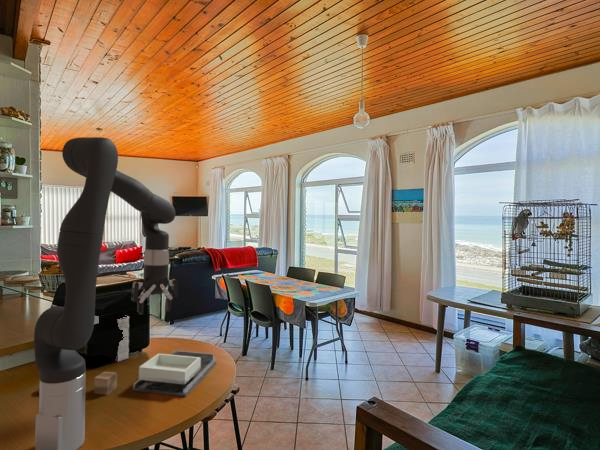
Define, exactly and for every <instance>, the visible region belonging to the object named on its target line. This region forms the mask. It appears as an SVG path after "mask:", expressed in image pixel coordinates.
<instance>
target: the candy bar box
mask: <svg viewBox="0 0 600 450" xmlns="http://www.w3.org/2000/svg"><path fill="white" fill-rule="evenodd" d="M126 316H127V317H123V318H120V319H117V323H118V327H119V329H120V330H123V332H122V334H123V337H124V338H123V337H122V338H123V340H121V341H120V342H119V346H118V350H117V356H116V359H115V361H114V362H116V361H117V362H116V363H118V362H119V361H120V362H123V361H124V360H129V358H130V356H129V355H130V353H129V352H130V316H128V315H126Z"/></svg>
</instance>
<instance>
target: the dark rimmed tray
mask: <svg viewBox="0 0 600 450" xmlns="http://www.w3.org/2000/svg"><path fill="white" fill-rule="evenodd" d="M171 351H172V352H171V355H180V356H190V357H201V367H200V370H199V371H198V372H197V373H196V374H195V375H194V376H193V377H192V378H191V379H190V380H189V381H188V382H187V383H186V384H183V386H178V385H177V384H176V383H166V382H157V381H151V382H150V383H147V382H146V381H145V380H139V379H137V381H135V382H134V383H133V384H132V388H131V389H132V391H134V392H141V393H150V394H159V395H169V396H177V397H188V395H189V394H190V393H191V392H192V391H193V390H194V388H195V387H197V386H198V384H200V383H201V381H202V380H203V379H204V378H205V377H206V376H207V375H208V374H209V372H210V371H212V369H214V367H216V365H217V361H216V360H217V359H216V358H215V353H212V352H210V353H209V352H200V351H190V350H189V351H188V350H180V349H179V350H178V349H173V350H171Z"/></svg>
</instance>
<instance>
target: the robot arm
mask: <svg viewBox="0 0 600 450" xmlns="http://www.w3.org/2000/svg"><path fill="white" fill-rule="evenodd" d="M61 154H62V158H63V161H64V164H65V165H66V167H68V168H69V169H70V170H71V171H73V172H74V173H76V174H78V175H79V176H82V177H84V178H85V181H84V186H83V189H82V192H81V194H80V195H79V197H78V198H77V200H76V202H74V204H73V205H72V206H71V208H70V209H69V210H68V212H67V213H66V215H65V217H64V218H63V220H62V222H61V225H60V228H59V232H58V238H57V239H58V240H57V246H56V254H57V260H58V264H59V266H60V271H61V272H62V275H63V280H64V283H65V299H64V306H52V307H49V308H47V309H46V310H44V311H43V312H42V313H41V314H40V315H39V317H38V318H37V321H36V322H35V325H34V330H33V331H34V333H33V343H34V347H33V348H34V361H35V362H34V363H35V367H36V369H37V372H38V374H39V375H38V376H39V386H40V392H39V393H38V394H39V395H38V396H39V401H38V402H39V403H38V404H39V405H38V406H39V407H38V409H39V410H38V411H39V412H38V413H37V414H35V425H34V426H35V431H34V432H35V436H34V438H35V442H34V443H35V444H34V445H35V447H34V450H79V448H81V447H82V446H83V444H84V443H85V439H86V438H85V437H86V370H87V369H86V359H85V358H84V357H83V356H82V355H80V354H79V352H77V350H79V349H81V348H83V347H85V345H86V344H87V343H88V342H89V340H90V338H91V336H92V334H93V331H94V327H95V316H96V315H95V314H96V293H97V291H96V290H97V282H98V281H97V279H98V273H99V272H98V271H99V264H100V257H101V252H102V245H103V239H104V231H105V223H106V219H107V218H106V217H107V211H108V207H109V201H110V196H111V193H113V194H114V195H116V196H117V197H119V198H120V199H122V200H123V201H125V202H126V203H127V204H128V205H129V206H131V207H132V208H134V209H135V210H136V211H138V212H140V219H141V222H142V226H143V227H142V228H143V231H144V234H145V251H144V255H143V256H144V257H143V280H142V282H141V281H138V282H137V281H133V282H132V285H131V286H132V287H131V296H130V300H131V301H132V302H135V303H136V312H137V313H138V314H139V315H142V316H143V315H144V308H145V307H144V301H145V300H146V299H147V298H148V297H149V296H150V295H151V296H153V295H161V294H163V296H164V297H165V305H164V306H165V307H164V310H165V311H166V312H170V310H171V309H172V304H173V303H172V302H173V301H172V300H173V299H176V298H178V297H179V290H178V289H179V285H178V280H177V279H175V278H172V279H169V266H170V265H169V260H170V257H169V256H170V255H169V244H170V243H169V242H170V240H169V238H170V235H169V233H168V232H167V231H164V230H161V229H160V228H159V224H160V225H164V224H165V225H167V224H171V223H172V222H173V221H174V220H175V218H176V209H175V207H174V205H173V204H172V203H171V202H170V201H168V200H167V199H165V198H163V197H161V196H160V195H157V194H155V193H153V192H152V191H151V190H150V189H148V187H146V186H145V185H144V184H143V182H140V181H139V180H137V179H136V178H134V177H132V176H129V175H127V174H125V173H123V172H122V171H121V172H120V171H119V170H117V168H118V164H119V153H118V149H117V146H116V144H115V143H114V142H113V141H112V140H111V139H110V138H108V137H103V136H102V137H101V136H100V137H99V136H96V137H95V136H94V137H91V136H90V137H82V136H81V137H74V138H70V139H69V140H67V141H66V142H65V143H64V145H63V147H62V152H61ZM168 286H170V287H171V288H170V289H171V293H170V291H169V290H168V289H167V288H168ZM141 287H142V288H143V290H142V291H141V293H140V295H139V290H141Z"/></svg>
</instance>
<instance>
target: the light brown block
mask: <svg viewBox="0 0 600 450" xmlns="http://www.w3.org/2000/svg"><path fill="white" fill-rule="evenodd" d="M93 379H94V381H93V383H94V385H93V394H96V395H97V394H98V395H102V396H103V395H105V396H108V395H109V394H111V393H112V392H113V391H115V390H116V389H117V388H118V382H117V381H118V373H117V372H113V371H103V372H101V373H99V374H97V375H96V376H95V377H94V378H93Z"/></svg>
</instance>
